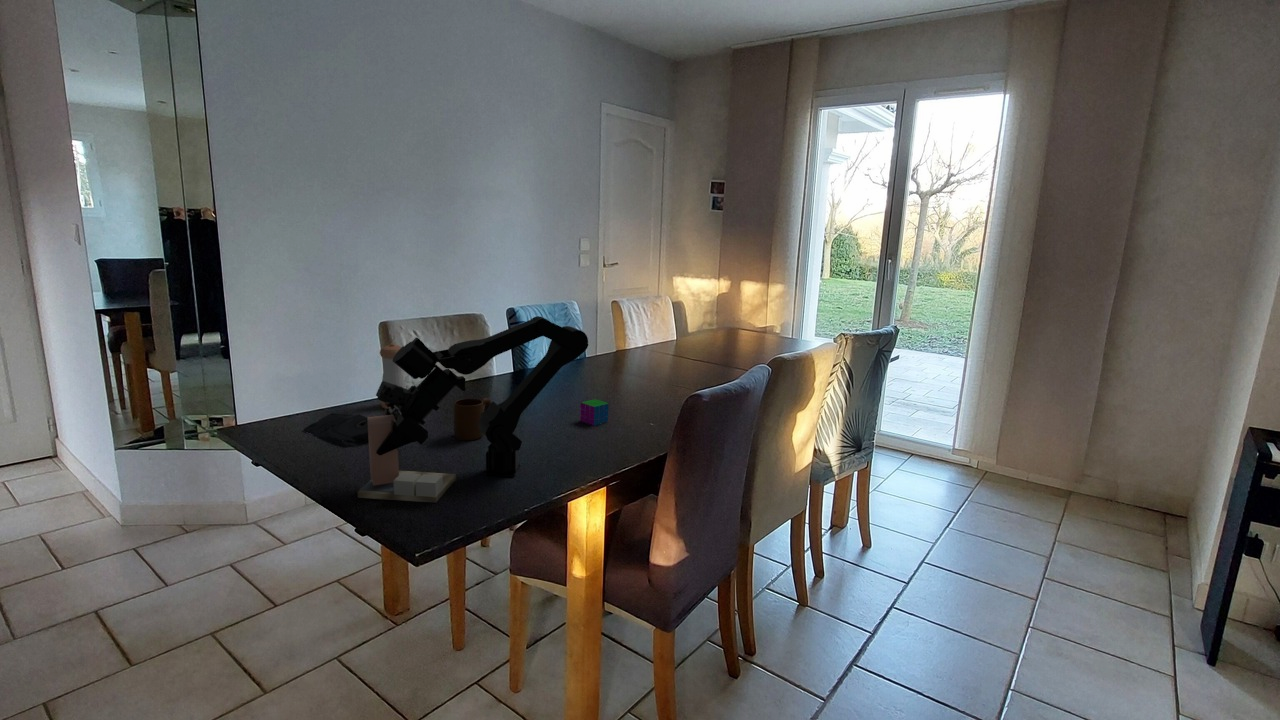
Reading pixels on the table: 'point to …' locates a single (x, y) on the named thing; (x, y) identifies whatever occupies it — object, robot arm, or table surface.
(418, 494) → the built blocks
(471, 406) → the mug
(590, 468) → the table surface
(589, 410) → the puzzle toy
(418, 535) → the table surface
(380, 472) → the tower block
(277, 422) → the table surface
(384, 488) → the board
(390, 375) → the salt shaker
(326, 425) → the dark slate chunk
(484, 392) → the table surface
